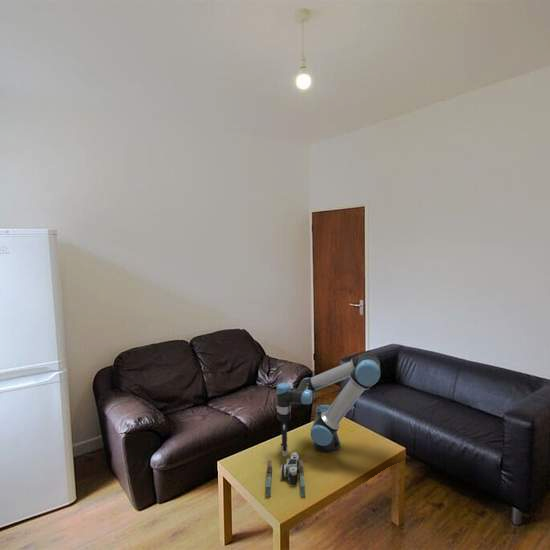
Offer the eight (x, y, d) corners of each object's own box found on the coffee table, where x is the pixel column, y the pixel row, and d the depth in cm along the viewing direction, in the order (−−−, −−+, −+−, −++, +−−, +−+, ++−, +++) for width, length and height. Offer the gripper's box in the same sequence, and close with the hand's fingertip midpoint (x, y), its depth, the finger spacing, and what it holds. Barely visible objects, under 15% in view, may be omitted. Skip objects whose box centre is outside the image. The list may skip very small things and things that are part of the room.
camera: (283, 465, 191) (282, 447, 190) (299, 466, 190) (299, 448, 189) (280, 485, 175) (280, 466, 174) (298, 486, 174) (297, 467, 173)
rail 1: (271, 469, 188) (271, 459, 187) (270, 496, 168) (270, 486, 167) (268, 469, 188) (267, 459, 187) (266, 496, 168) (265, 486, 167)
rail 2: (302, 469, 187) (302, 459, 187) (305, 496, 167) (304, 485, 167) (298, 469, 187) (298, 459, 187) (300, 496, 167) (300, 485, 167)
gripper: (277, 401, 211) (278, 436, 213) (276, 423, 186) (277, 462, 188) (290, 401, 211) (291, 435, 213) (290, 423, 186) (291, 461, 188)
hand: (284, 448), depth 201 cm, fingers open, 13 cm apart
